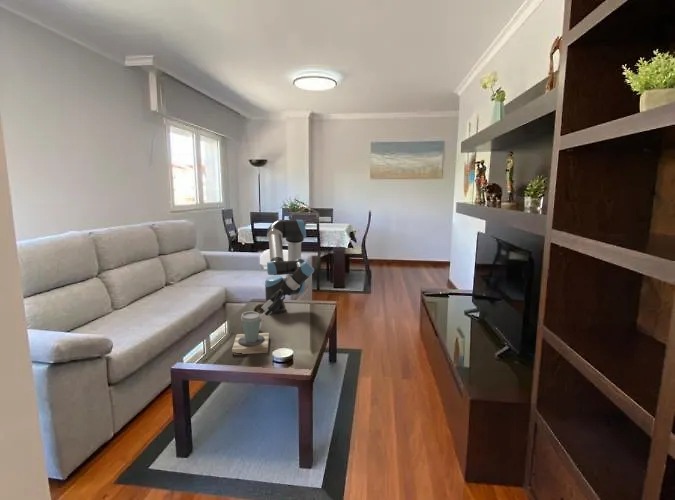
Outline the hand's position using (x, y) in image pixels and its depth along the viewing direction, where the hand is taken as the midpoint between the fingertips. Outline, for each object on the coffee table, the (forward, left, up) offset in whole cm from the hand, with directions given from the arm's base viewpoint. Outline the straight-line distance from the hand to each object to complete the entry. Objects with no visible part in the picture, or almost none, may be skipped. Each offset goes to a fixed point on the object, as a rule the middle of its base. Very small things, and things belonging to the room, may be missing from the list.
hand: (262, 313), depth 192 cm
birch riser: (-1, -6, -18) cm, 19 cm away
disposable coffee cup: (-1, -6, -15) cm, 16 cm away
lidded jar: (-20, -7, -19) cm, 28 cm away
